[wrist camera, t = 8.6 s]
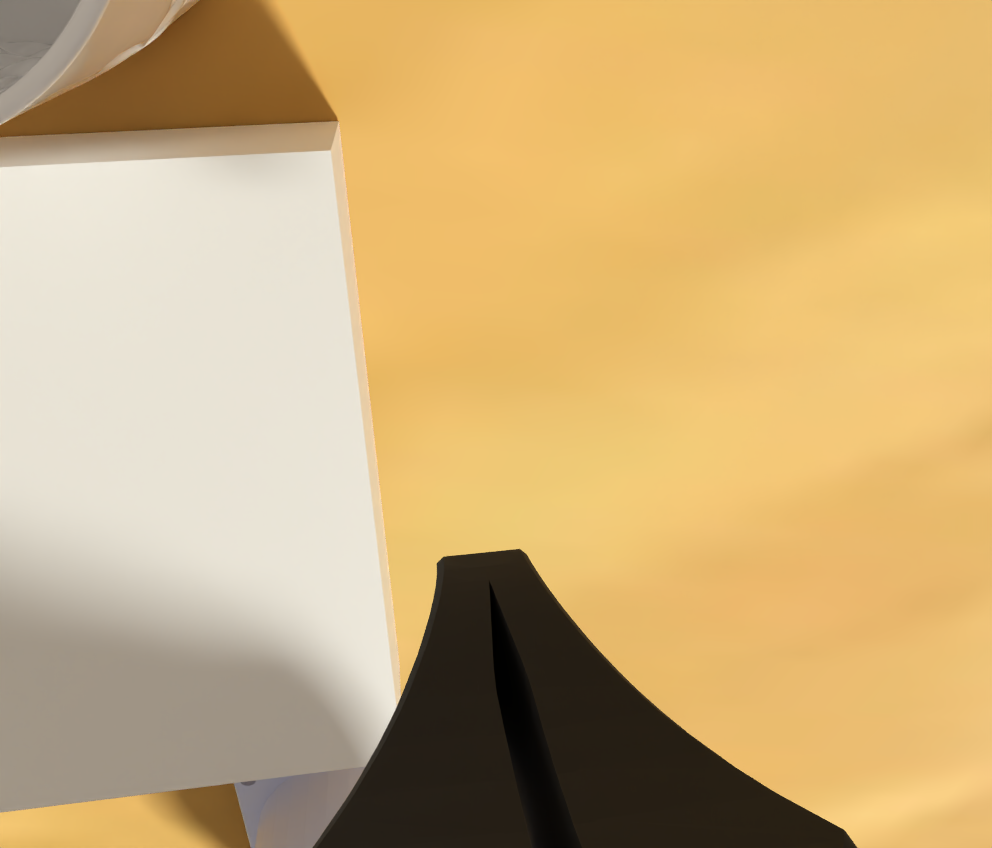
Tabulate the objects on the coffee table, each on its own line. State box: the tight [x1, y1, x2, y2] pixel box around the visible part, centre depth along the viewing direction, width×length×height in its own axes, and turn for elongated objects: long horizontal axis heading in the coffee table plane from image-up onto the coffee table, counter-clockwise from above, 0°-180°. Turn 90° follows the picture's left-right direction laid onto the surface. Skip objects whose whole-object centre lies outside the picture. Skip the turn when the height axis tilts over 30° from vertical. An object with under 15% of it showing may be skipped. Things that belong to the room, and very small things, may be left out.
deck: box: [0, 121, 401, 812], centre depth 21 cm, size 17×12×4 cm
